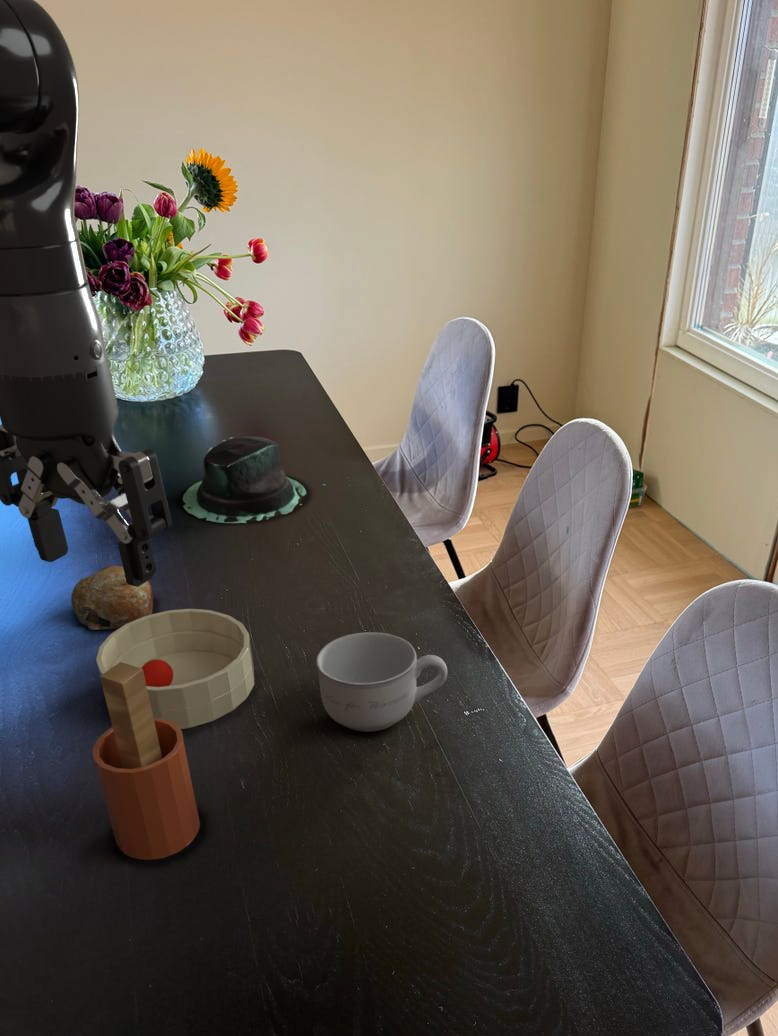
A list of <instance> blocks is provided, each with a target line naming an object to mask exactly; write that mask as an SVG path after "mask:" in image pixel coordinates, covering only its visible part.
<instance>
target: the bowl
mask: <svg viewBox="0 0 778 1036" xmlns="http://www.w3.org/2000/svg"><path fill="white" fill-rule="evenodd" d="M250 637H251V636H250V633H249V632H248V630H247V629H246V627H245V625H244V624H243V623H242V622H241V621H239V620H237V619H235V618H234V617H232V616H231V615H228V614H226V613H223V612H219V611H216V610H215V611H214V610H211V609H201V608H199V609H198V608H184V609H183V608H182V609H171V610H170V609H169V610H165V611H161V612H156V613H152V614H151V615H147V616H144V617H142V618H139V619H137V620H135V621H132V622H130V623H127V624H125V625H124V626H122V627H121V628H117V629H115V631H113V632H112V633H110V634H108V636H107V637H106V638H105V640H104V641H103V642H102V643H101V644H100V646H98V650H97V655H96V659H95V662H96V666H97V670H98V674H99V677H100V676H101V675H102V674H104V673H105V672H107V671H108V670H109V669H111V668H112V667H114V666H115V665H116V664H118V663H119V662H123V663H126V664H129V665H132V666H135V667H139V668H142V666H143V665H144V664H145V663H147V662H148V661H151V660H155V659H159V660H163V661H165V662H167V663H168V664H169V665H170V666H171V668H172V670H173V680H172V682H171V684H170V685H169V686H164V687H150V686H146V687H147V691H148V696H149V700H150V705H151V709H152V714H153V718H162V719H165V720H168V721H171V722H173V723H175V724H176V725H177V726H178V727H179V728H180V729H181V730H185V729H191V728H195V727H198V726H201V725H205V724H208V723H211V722H214V721H216V720H217V719H219V718H222V717H223V716H225V715H227V714H229V713H231V712H233V711H235V710H236V708H238V707H239V706H240V705H242V704H243V702H245V701H246V700H247V698H248V697H249V695H250V693H251V692H252V690H253V688H254V686H255V667H254V659H253V651H252V645H251V638H250Z"/></svg>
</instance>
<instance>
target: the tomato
mask: <svg viewBox="0 0 778 1036" xmlns="http://www.w3.org/2000/svg"><path fill="white" fill-rule="evenodd" d="M142 669H143V673H144V677H145V682H146V686H150V687H164V686H169V685H170V684H171V682H172V680H173V670H172V668H171V666H170V665H169V664H168V663H167V662H165V661H163V660H159V659H155V660H151V661H148V662H147V663H145V664H144V665H143V666H142Z"/></svg>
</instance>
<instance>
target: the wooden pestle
mask: <svg viewBox="0 0 778 1036" xmlns="http://www.w3.org/2000/svg"><path fill="white" fill-rule="evenodd" d="M99 679H100V683H101V687H102V691H103V694H104V698H105V703H106V706H107V710H108V715H109V719H110V722H111V726H112V727H113V731H114V735H115V738H116V742H117V746H118V750H119V754H120V758H121V762H122V766H123V768H124V769H134V768H139V767H144V766H148V765H151V764H153V763H155V762H157V761H159V760H161V759H162V755H161V750H160V746H159V741H158V737H157V732H156V727H155V723H154V718H153V714H152V709H151V705H150V700H149V696H148V691H147V687H146V682H145V677H144V673H143V669H142V668H139V667H135V666H132V665H129V664H126V663H123V662H119V663H118V664H116V665H115V666H114V667H112V668H111V669H109V670H108V671H107V672H105V673H104V674H102V675H101V676H100V675H99ZM112 727H111V728H112Z"/></svg>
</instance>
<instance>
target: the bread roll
mask: <svg viewBox="0 0 778 1036" xmlns="http://www.w3.org/2000/svg"><path fill="white" fill-rule="evenodd" d="M70 599H71V608H72V610H73V612H74V614H75V616H76V617H77V619H78V621H79V623H81V624H82V625H84V626H86V627H88V630H90V631H97V630H98V631H102V630H118V629H119V628H121V627H122V626H124V625H125V624H127V623H130V622H132V621H135V620H137V619H139V618H142V617H144V616H147V615H152V614H153V607H154V597H153V588H152V585H151V583H150V580H148V581H147V582H145V583H144V584H142V585H140V586H139V587H136V586H132V585H129V584H127V582H126V578H125V573H124V569H123V565H110V566H106V567H103V568H101V569H100V570H98V571H97V572H96V573H95V572H94V573H92V574H90V575H88V576H86V577H82V578H80V580H79V581H78V582H77V583H76V584H75V585H74V587H73V589H72V593H71V597H70Z"/></svg>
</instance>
